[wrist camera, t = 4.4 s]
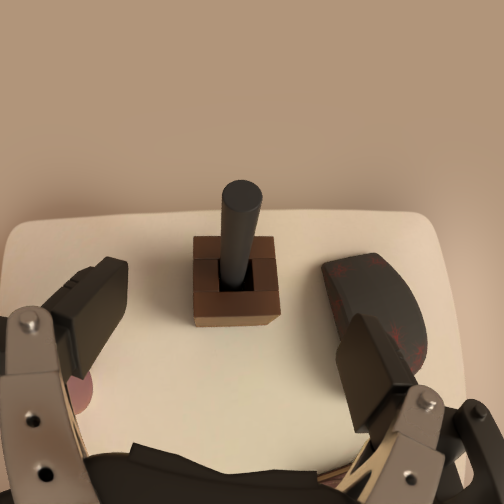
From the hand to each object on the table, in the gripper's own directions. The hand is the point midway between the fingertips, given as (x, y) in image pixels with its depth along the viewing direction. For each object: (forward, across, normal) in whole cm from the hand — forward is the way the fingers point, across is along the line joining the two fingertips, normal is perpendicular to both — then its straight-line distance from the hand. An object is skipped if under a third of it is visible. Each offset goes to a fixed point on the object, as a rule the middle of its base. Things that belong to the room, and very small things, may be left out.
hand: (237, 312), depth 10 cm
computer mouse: (+14, -13, +8) cm, 21 cm away
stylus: (+14, 0, +7) cm, 16 cm away
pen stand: (+14, 0, +7) cm, 16 cm away
